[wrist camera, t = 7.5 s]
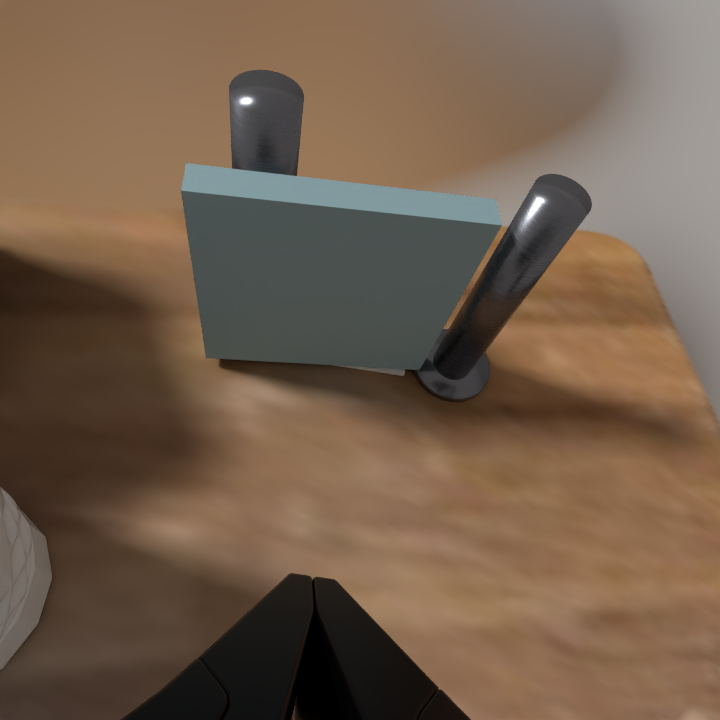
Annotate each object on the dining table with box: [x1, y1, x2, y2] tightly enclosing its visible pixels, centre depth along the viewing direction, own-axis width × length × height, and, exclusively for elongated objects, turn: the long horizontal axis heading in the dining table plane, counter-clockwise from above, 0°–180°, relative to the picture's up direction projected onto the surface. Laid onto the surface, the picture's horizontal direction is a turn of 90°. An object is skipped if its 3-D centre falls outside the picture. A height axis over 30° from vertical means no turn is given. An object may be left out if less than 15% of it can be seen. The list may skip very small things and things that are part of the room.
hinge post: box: [413, 174, 592, 402], centre depth 22 cm, size 4×4×12 cm
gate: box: [181, 163, 502, 370], centre depth 21 cm, size 10×1×10 cm, turn 92°
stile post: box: [229, 70, 304, 176], centre depth 22 cm, size 3×3×12 cm
